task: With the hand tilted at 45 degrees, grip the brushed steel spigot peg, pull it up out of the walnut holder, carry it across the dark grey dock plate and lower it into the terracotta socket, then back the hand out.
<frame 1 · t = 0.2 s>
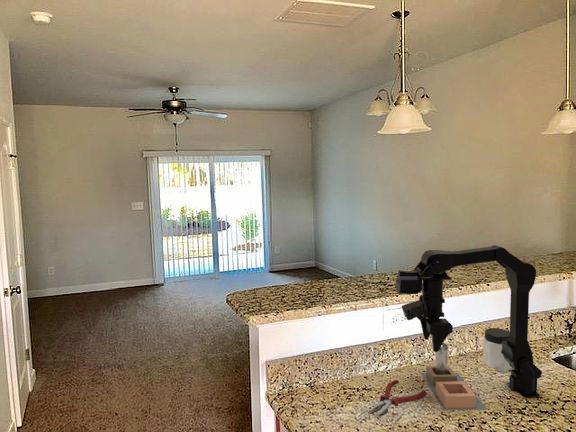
hand: (430, 345, 130), 15 cm above the worktop, tool pointing down, fingers open, 9 cm apart
socket: (455, 400, 125), resting on dock plate
dock plate: (451, 392, 131), on the worktop
pliers: (391, 401, 129), on the worktop
jar: (497, 367, 148), on the worktop
peg: (441, 380, 137), point 1 cm above the worktop, touching dock plate
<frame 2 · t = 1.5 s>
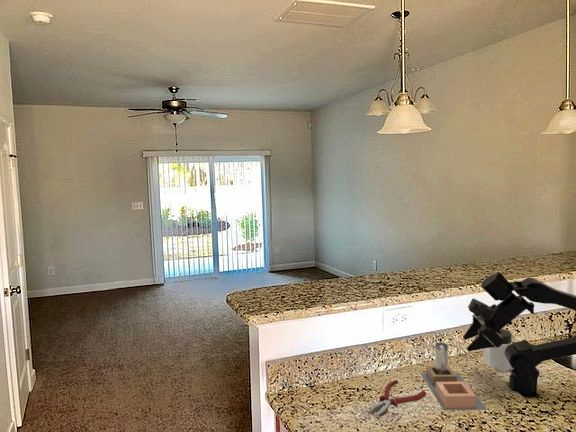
hand: (465, 344, 134), 13 cm above the worktop, tool tilted 45°, fingers open, 9 cm apart
nothing on the worktop moved.
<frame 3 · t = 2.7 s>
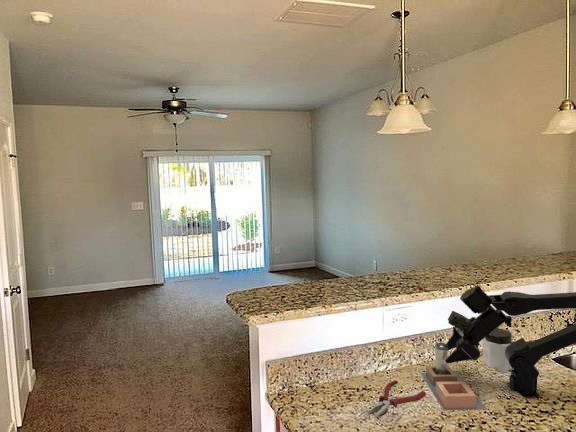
hand: (445, 355, 136), 9 cm above the worktop, tool tilted 45°, fingers open, 9 cm apart
nothing on the worktop moved.
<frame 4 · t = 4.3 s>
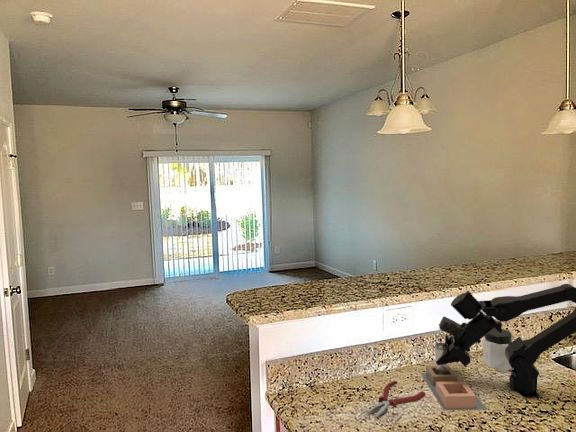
hand: (436, 361, 137), 7 cm above the worktop, tool tilted 45°, fingers closed on peg, 4 cm apart
peg: (441, 380, 137), point 1 cm above the worktop, touching dock plate, gripper
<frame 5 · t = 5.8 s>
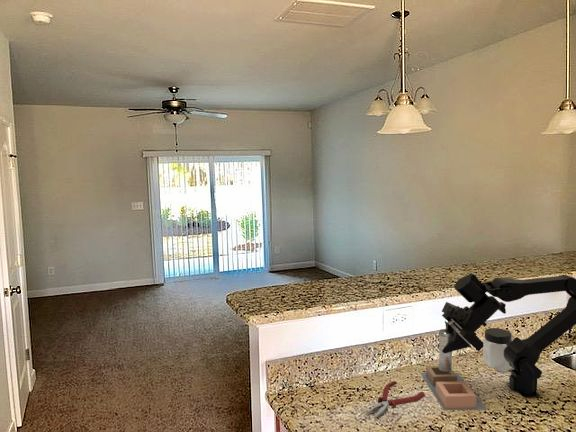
hand: (440, 349, 130), 13 cm above the worktop, tool tilted 45°, fingers closed on peg, 4 cm apart
peg: (445, 369, 131), point 7 cm above the worktop, touching gripper
when the fingers open (8 cm above the worktop, at t = 7.7 s): peg drops 1 cm, resting on dock plate.
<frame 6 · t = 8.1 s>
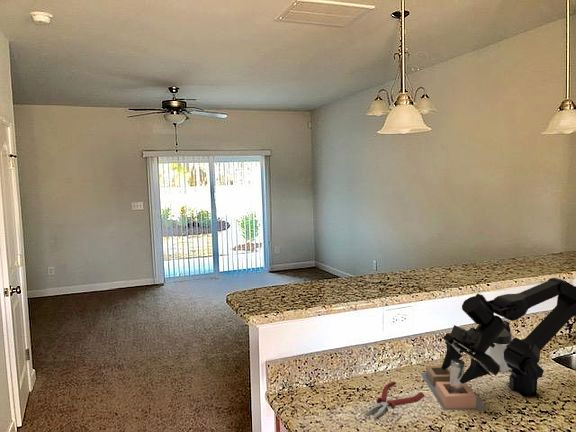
hand: (451, 375, 124), 9 cm above the worktop, tool tilted 45°, fingers open, 8 cm apart
peg: (455, 400, 125), point 1 cm above the worktop, touching dock plate
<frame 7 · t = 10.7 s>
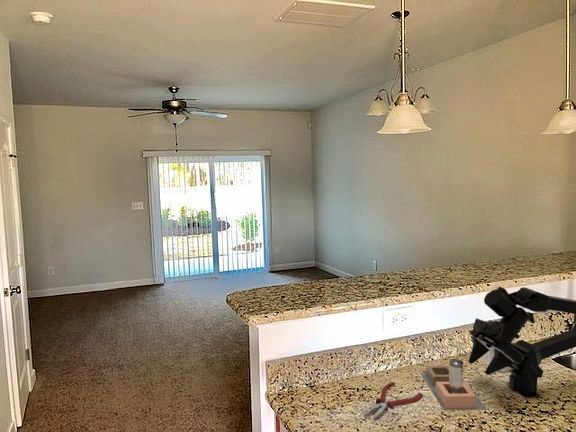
hand: (477, 368, 127), 9 cm above the worktop, tool tilted 40°, fingers open, 9 cm apart
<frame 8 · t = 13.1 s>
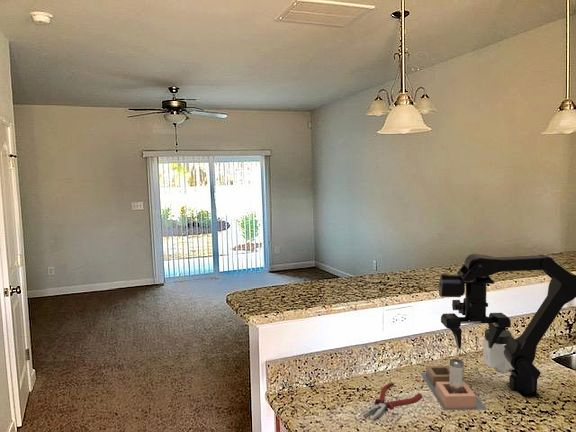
hand: (474, 348, 132), 13 cm above the worktop, tool pointing down, fingers open, 9 cm apart
at the end: peg 0.1 cm off-centre on the socket, point 0.0 cm above the socket's base; peg tilted 1°; the gripper is holding nothing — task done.
